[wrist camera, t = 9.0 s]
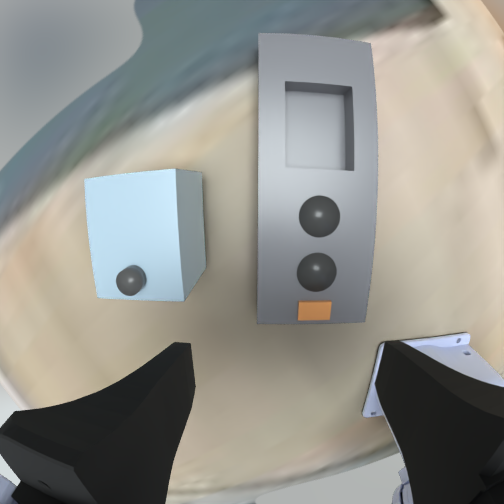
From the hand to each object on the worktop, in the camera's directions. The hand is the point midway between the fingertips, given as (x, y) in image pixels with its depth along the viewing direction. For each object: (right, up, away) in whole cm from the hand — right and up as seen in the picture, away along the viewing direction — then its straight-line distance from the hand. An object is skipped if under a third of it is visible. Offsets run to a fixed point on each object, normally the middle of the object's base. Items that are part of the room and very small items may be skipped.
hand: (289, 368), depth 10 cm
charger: (-6, +6, +9) cm, 13 cm away
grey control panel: (+3, +9, +8) cm, 13 cm away
